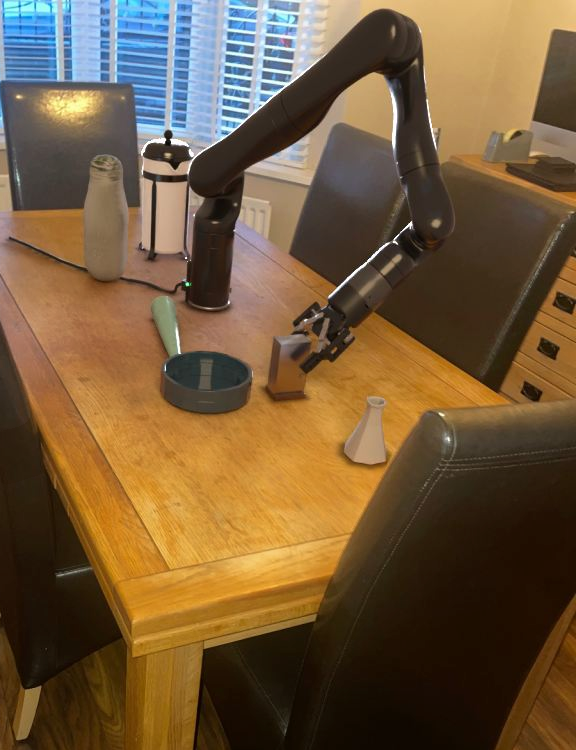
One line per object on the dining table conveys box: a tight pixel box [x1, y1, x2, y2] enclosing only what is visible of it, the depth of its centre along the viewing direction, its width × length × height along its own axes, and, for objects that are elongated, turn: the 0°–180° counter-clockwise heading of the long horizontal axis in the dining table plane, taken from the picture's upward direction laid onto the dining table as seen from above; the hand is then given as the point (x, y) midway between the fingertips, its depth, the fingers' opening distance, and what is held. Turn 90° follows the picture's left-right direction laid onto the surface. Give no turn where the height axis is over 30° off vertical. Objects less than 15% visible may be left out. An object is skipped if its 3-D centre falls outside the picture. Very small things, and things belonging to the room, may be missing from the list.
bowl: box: [160, 350, 254, 415], centre depth 143 cm, size 16×16×5 cm
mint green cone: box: [150, 295, 182, 358], centre depth 159 cm, size 5×6×27 cm
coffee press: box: [138, 129, 195, 261], centre depth 200 cm, size 17×16×30 cm
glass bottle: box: [82, 154, 130, 282], centre depth 181 cm, size 10×10×28 cm
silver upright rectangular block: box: [264, 334, 313, 401], centre depth 143 cm, size 6×5×11 cm
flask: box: [343, 395, 387, 465], centre depth 127 cm, size 7×7×10 cm
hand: (292, 360), depth 143 cm, fingers open, 8 cm apart
